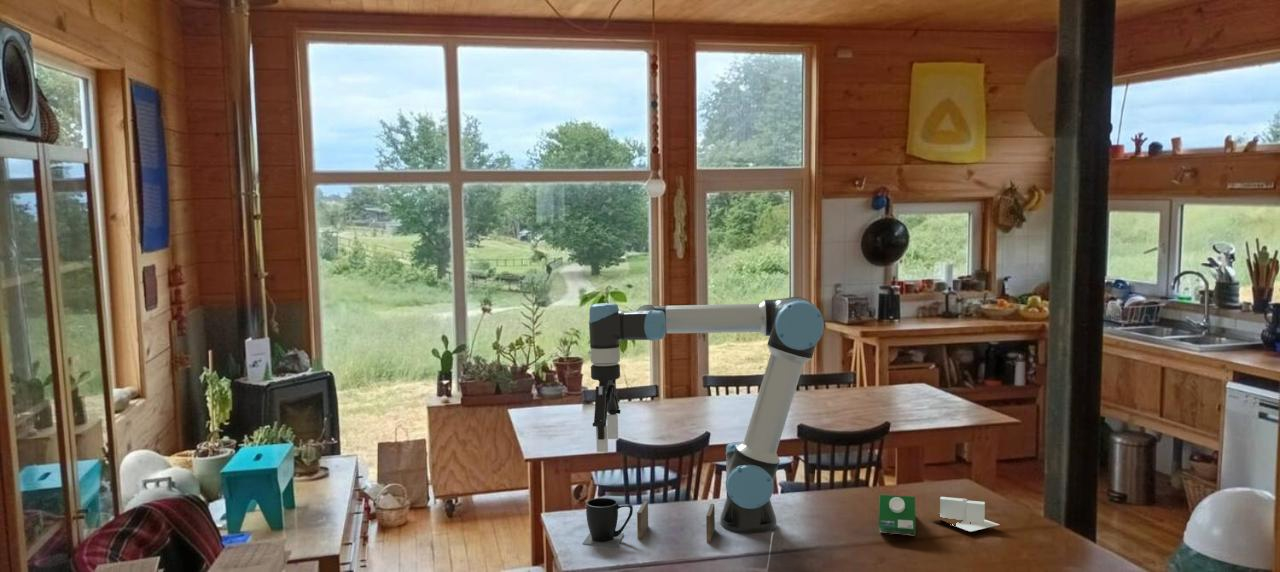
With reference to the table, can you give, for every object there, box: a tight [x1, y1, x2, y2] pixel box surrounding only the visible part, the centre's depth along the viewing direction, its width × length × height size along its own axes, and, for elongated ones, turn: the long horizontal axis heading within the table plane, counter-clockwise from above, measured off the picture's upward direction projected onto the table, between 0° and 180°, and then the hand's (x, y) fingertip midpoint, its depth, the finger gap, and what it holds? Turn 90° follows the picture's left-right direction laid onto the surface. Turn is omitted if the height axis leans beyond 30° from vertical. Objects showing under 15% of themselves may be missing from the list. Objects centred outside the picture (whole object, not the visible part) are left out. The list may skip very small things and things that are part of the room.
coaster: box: [582, 532, 625, 548], centre depth 236 cm, size 9×9×1 cm
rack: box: [636, 500, 716, 544], centre depth 240 cm, size 19×10×7 cm, turn 79°
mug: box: [585, 497, 634, 542], centre depth 235 cm, size 8×12×10 cm
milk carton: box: [878, 494, 916, 536], centre depth 247 cm, size 9×9×25 cm
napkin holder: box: [939, 496, 1000, 532], centre depth 249 cm, size 15×11×6 cm
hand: (607, 445), depth 236 cm, fingers open, 13 cm apart
